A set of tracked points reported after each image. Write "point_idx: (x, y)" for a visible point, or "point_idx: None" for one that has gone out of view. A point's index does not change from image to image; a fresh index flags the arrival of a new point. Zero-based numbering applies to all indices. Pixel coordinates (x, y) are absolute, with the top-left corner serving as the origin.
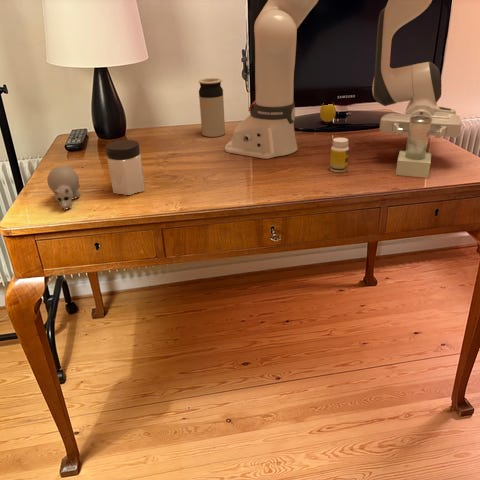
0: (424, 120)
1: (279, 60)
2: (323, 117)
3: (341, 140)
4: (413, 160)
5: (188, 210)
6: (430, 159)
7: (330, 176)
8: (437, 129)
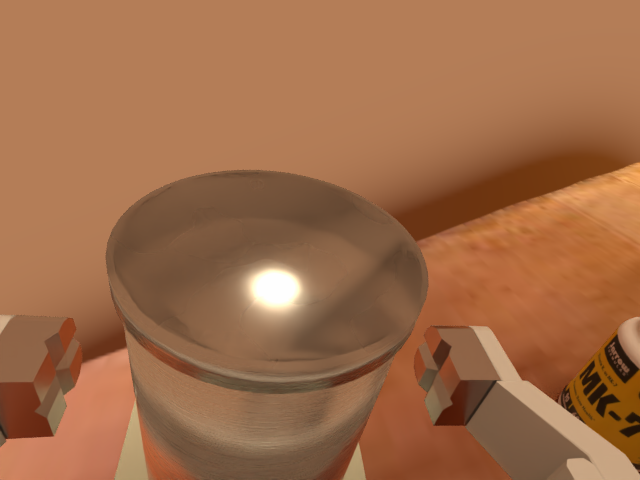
0: (229, 197)
1: None
2: None
3: None
4: None
5: (604, 177)
6: (120, 465)
7: (558, 347)
8: (12, 371)
